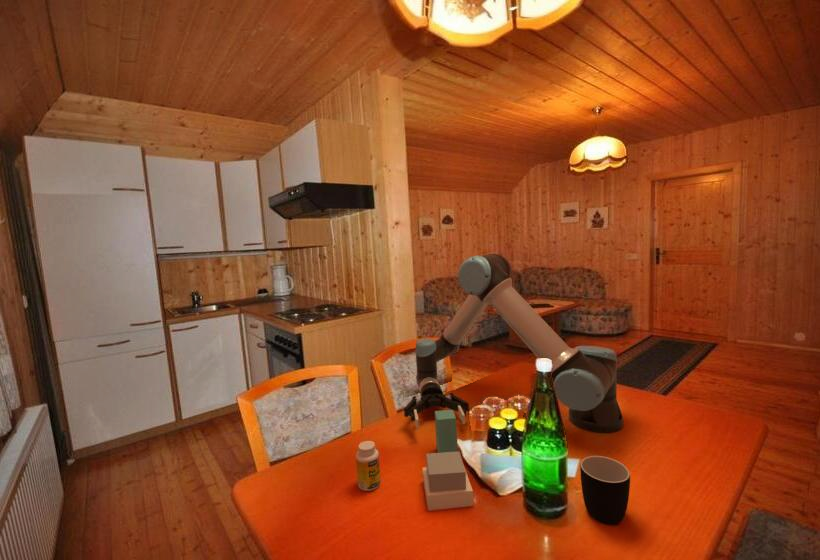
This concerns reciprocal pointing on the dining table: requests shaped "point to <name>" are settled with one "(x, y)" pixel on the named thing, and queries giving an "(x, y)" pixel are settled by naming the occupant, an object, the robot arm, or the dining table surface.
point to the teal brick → (446, 431)
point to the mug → (605, 489)
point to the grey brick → (445, 471)
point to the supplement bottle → (368, 466)
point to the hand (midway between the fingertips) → (440, 421)
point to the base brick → (447, 496)
